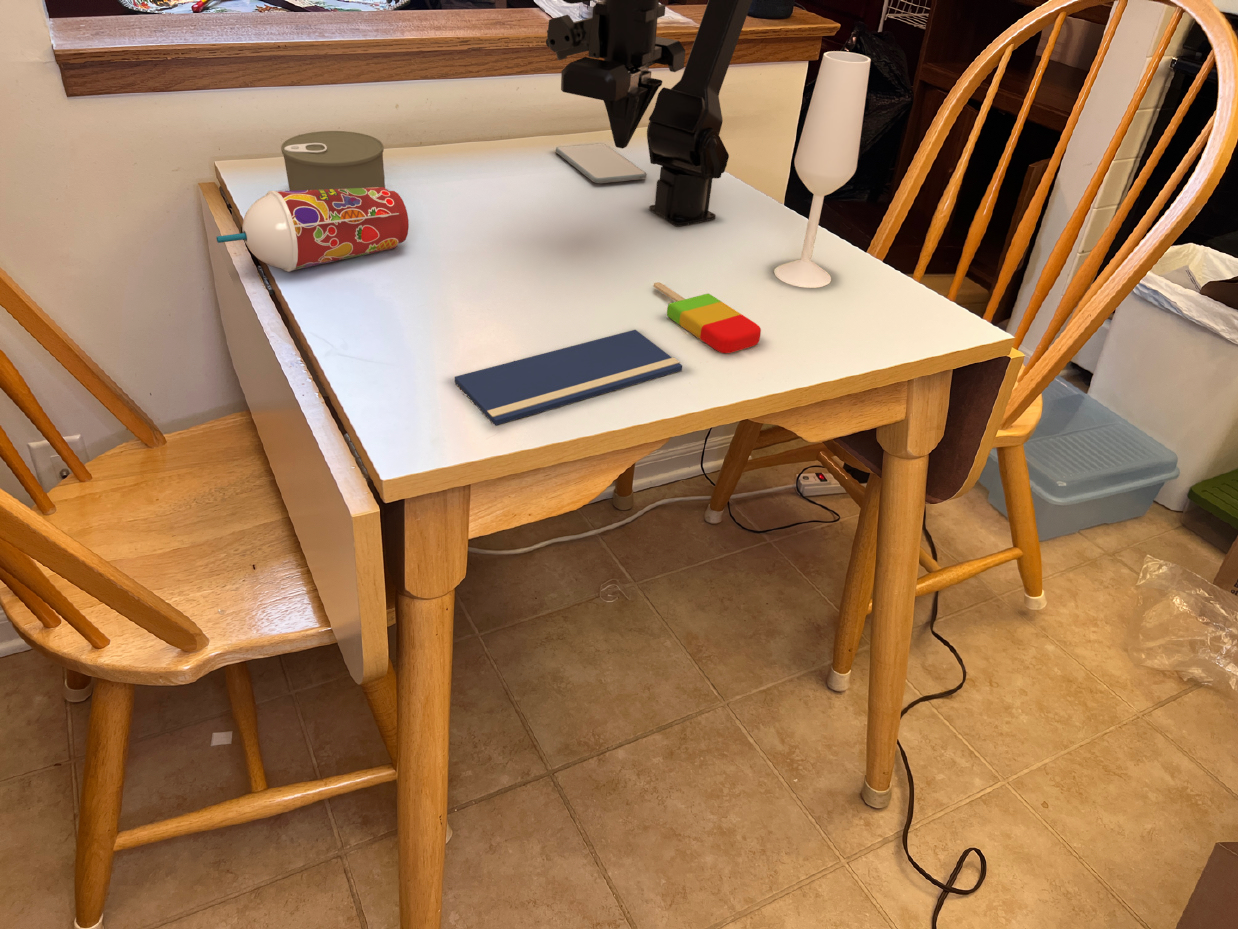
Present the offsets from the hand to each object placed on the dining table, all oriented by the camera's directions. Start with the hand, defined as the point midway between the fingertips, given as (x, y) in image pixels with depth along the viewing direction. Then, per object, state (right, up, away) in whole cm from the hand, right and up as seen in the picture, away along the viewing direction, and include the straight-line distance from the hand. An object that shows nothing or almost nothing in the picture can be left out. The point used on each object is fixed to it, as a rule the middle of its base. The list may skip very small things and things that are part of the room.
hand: (620, 147), depth 102 cm
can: (-36, -2, +13) cm, 38 cm away
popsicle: (+8, -20, -6) cm, 23 cm away
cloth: (-5, -27, -17) cm, 33 cm away
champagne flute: (+21, -14, +5) cm, 26 cm away
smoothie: (-25, -7, +2) cm, 26 cm away
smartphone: (-3, +8, +30) cm, 31 cm away
